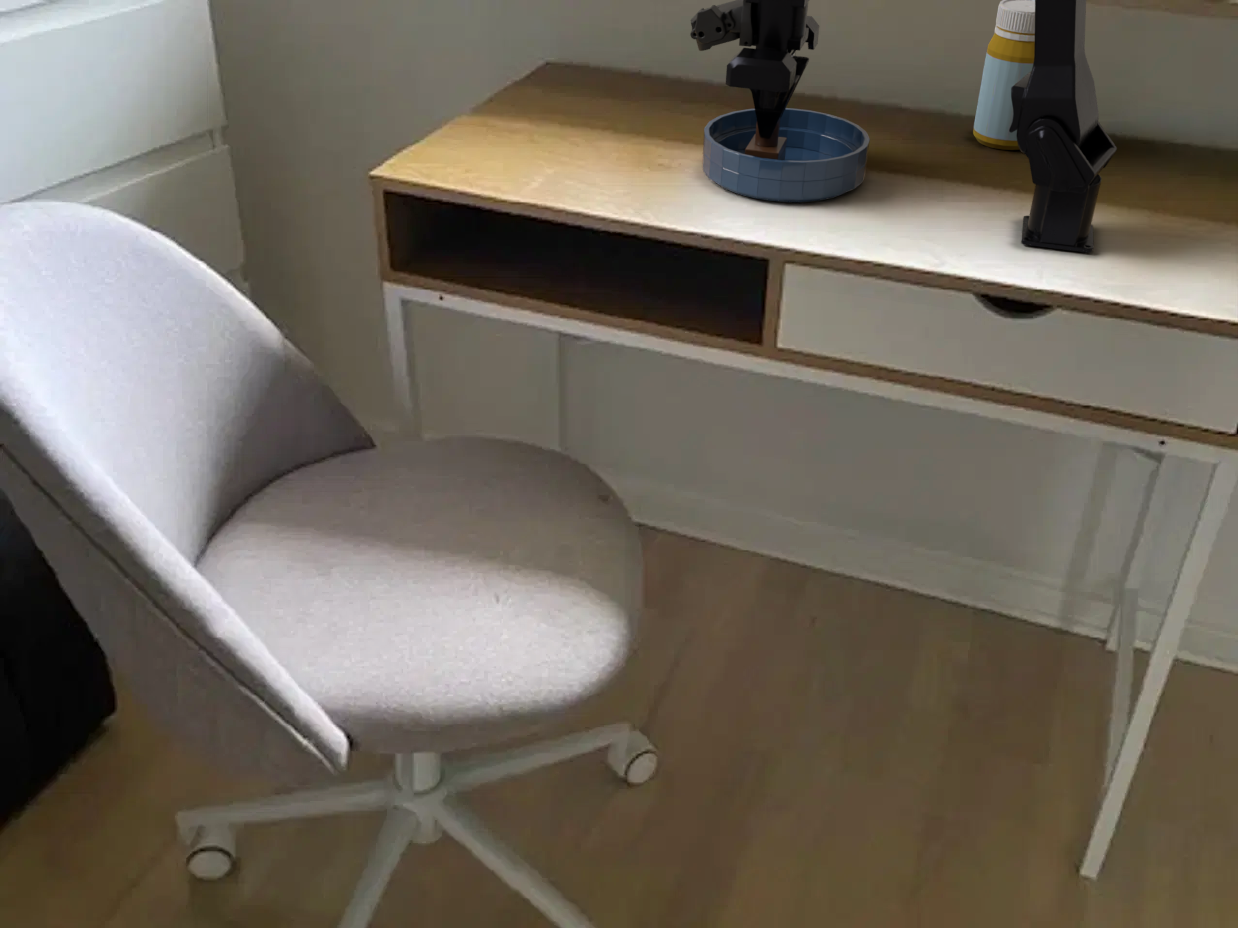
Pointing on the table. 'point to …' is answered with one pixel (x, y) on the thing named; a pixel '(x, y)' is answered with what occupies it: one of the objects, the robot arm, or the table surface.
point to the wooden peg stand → (767, 145)
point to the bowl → (787, 156)
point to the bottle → (1005, 73)
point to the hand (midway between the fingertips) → (767, 133)
